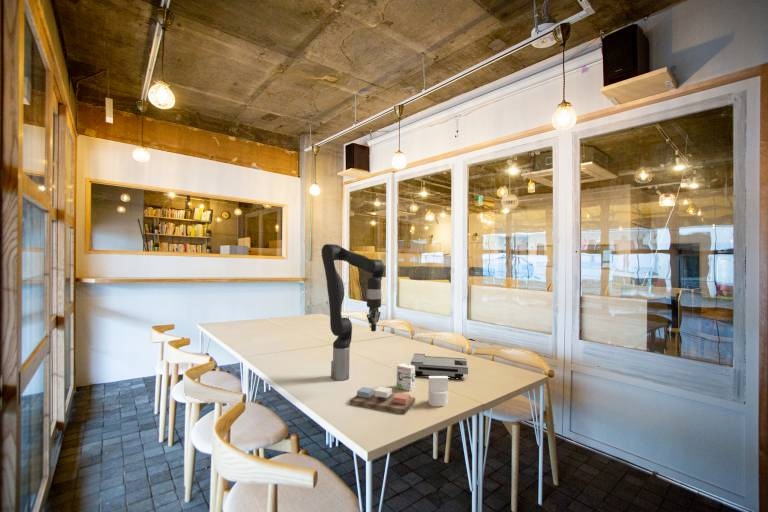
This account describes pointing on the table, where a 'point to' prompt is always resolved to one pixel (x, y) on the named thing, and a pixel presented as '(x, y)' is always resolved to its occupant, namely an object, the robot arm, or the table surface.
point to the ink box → (405, 377)
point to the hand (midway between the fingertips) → (373, 331)
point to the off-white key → (383, 392)
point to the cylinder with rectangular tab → (438, 390)
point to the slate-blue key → (365, 392)
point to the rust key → (401, 398)
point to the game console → (439, 366)
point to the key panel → (383, 403)
